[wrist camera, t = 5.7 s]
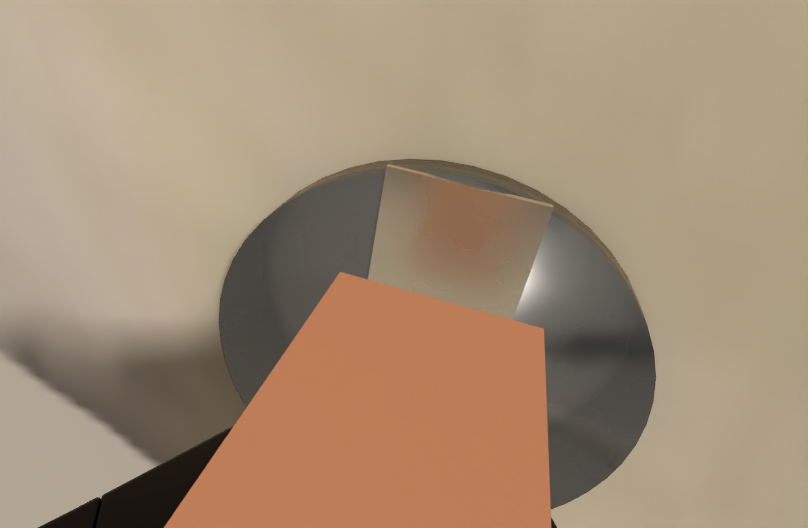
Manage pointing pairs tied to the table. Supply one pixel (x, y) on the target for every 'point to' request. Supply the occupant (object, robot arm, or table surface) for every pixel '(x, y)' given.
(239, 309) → the metal plate with post
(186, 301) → the table surface
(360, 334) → the link block
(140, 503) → the robot arm
